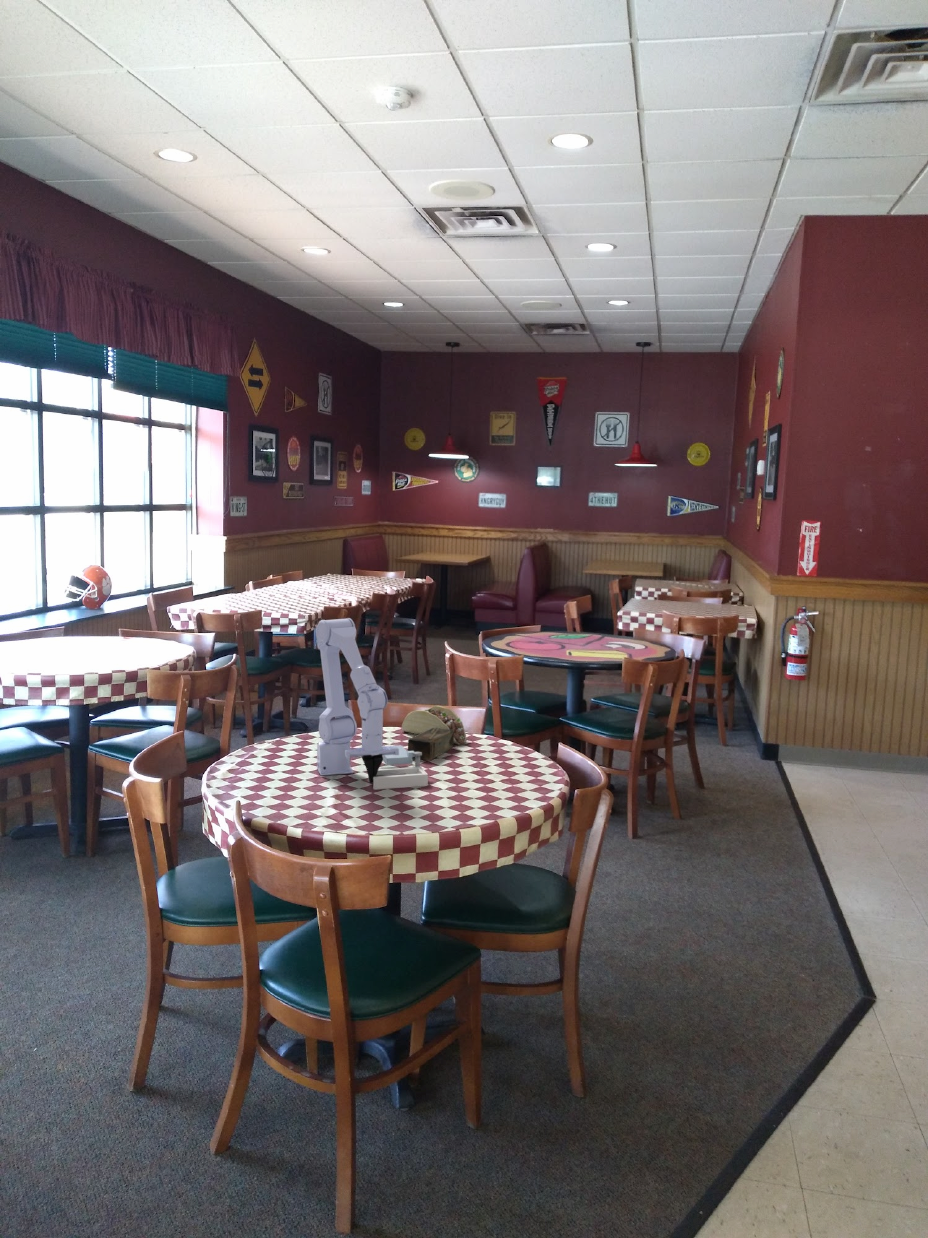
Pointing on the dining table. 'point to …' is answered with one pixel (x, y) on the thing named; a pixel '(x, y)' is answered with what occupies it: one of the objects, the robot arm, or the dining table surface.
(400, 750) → the cover
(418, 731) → the taco
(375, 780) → the duct
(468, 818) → the dining table surface
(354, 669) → the robot arm
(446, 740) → the brown box-shaped piece
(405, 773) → the dark grey cylinder
